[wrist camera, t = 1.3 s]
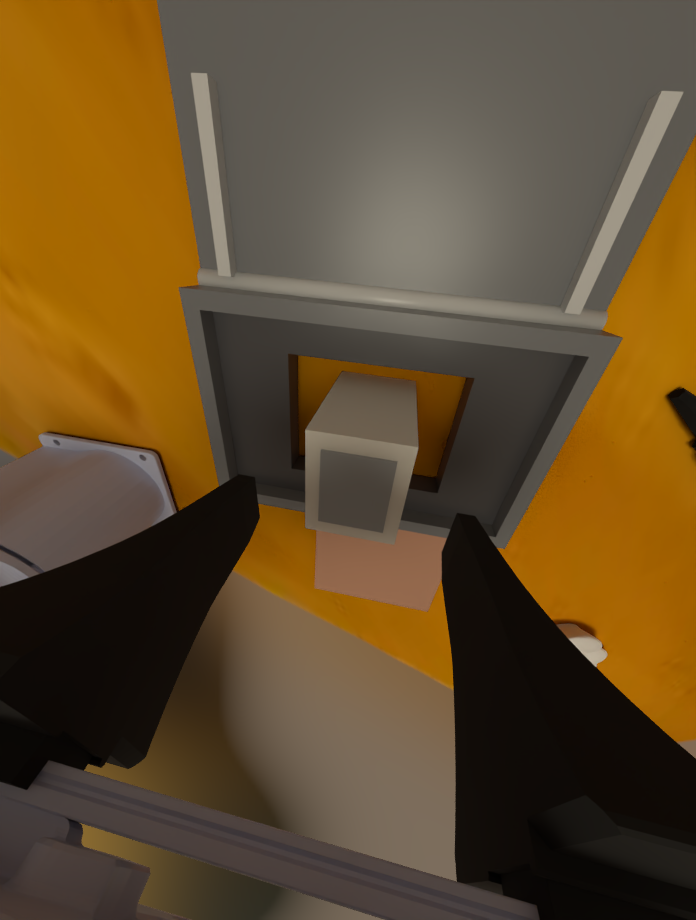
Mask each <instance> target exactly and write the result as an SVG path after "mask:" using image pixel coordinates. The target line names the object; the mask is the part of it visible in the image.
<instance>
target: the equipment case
mask: <svg viewBox="0 0 696 920" xmlns="http://www.w3.org/2000/svg"><path fill="white" fill-rule="evenodd" d="M157 3H158V9H159V16H160V22H161V28H162V34H163V40H164V46H165V52H166V58H167V65H168V71H169V77H170V83H171V89H172V95H173V101H174V107H175V114H176V120H177V126H178V132H179V138H180V144H181V150H182V156H183V162H184V169H185V175H186V181H187V187H188V193H189V199H190V205H191V211H192V218H193V224H194V230H195V236H196V242H197V248H198V254H199V260H200V267H201V268H200V269H199V271H198V283H199V285H196V286H187V287H179V291H180V296H181V301H182V306H183V311H184V316H185V321H186V326H187V330H188V335H189V340H190V345H191V350H192V355H193V360H194V365H195V370H196V374H197V379H198V384H199V389H200V394H201V399H202V404H203V409H204V414H205V419H206V423H207V428H208V433H209V438H210V443H211V448H212V453H213V458H214V463H215V468H216V472H217V477H218V482H219V486H221V485H222V484H224V483H225V482H227V481H229V480H230V479H232V478H234V477H235V476H237V475H239V474H241V475H247V476H252V477H255V481H256V490H257V498H258V504H264V505H269V506H275V507H280V508H286V509H291V510H296V511H302V512H305V457H303V456H299V428H298V355H302V356H310V357H317V358H325V359H333V360H340V361H348V362H355V363H363V364H370V365H378V366H386V367H393V368H401V369H408V370H416V371H424V372H431V373H439V374H446V375H454V376H461V377H467V379H466V382H465V385H464V389H463V392H462V395H461V398H460V402H459V405H458V408H457V411H456V415H455V418H454V421H453V424H452V428H451V431H450V434H449V437H448V441H447V444H446V447H445V450H444V454H443V457H442V460H441V463H440V467H439V470H438V473H437V477H436V478H430V477H424V476H418V475H412V476H411V480H410V484H409V488H408V492H407V496H406V500H405V504H404V508H403V512H402V516H401V520H400V524H399V528H398V529H400V530H405V531H410V532H416V533H421V534H427V535H432V536H438V537H443V538H447V537H448V534H449V532H450V529H451V527H452V524H453V521H454V519H455V516H456V514H457V513H461V514H467V515H472V516H476V518H477V519H478V521H479V522H480V524H481V525H482V527H483V528H484V530H485V531H486V533H487V534H488V536H489V537H490V539H491V540H492V542H493V543H494V545H495V546H496V547H497V548H503V549H505V547H506V546H507V544H508V542H509V540H510V538H511V537H512V535H513V533H514V531H515V530H516V528H517V526H518V524H519V522H520V521H521V519H522V517H523V515H524V513H525V512H526V510H527V508H528V506H529V505H530V503H531V501H532V499H533V497H534V496H535V494H536V492H537V490H538V488H539V487H540V485H541V483H542V481H543V480H544V478H545V476H546V474H547V472H548V471H549V469H550V467H551V465H552V464H553V462H554V460H555V458H556V456H557V455H558V453H559V451H560V449H561V447H562V446H563V444H564V442H565V440H566V439H567V437H568V435H569V433H570V431H571V430H572V428H573V426H574V424H575V422H576V421H577V419H578V417H579V415H580V414H581V412H582V410H583V408H584V406H585V405H586V403H587V401H588V399H589V397H590V396H591V394H592V392H593V390H594V389H595V387H596V385H597V383H598V381H599V380H600V378H601V376H602V374H603V373H604V371H605V369H606V367H607V365H608V364H609V362H610V360H611V358H612V356H613V355H614V353H615V351H616V349H617V348H618V346H619V344H620V342H621V340H622V339H623V338H622V337H619V336H616V335H613V334H611V333H608V332H605V331H602V329H603V327H604V326H605V324H606V321H607V317H608V314H607V311H606V310H607V308H608V306H609V304H610V302H611V300H612V298H613V296H614V294H615V292H616V291H617V289H618V287H619V285H620V283H621V281H622V279H623V277H624V275H625V273H626V271H627V269H628V267H629V265H630V263H631V261H632V259H633V257H634V255H635V253H636V251H637V249H638V247H639V245H640V243H641V241H642V239H643V237H644V235H645V233H646V231H647V229H648V227H649V225H650V223H651V221H652V219H653V218H654V216H655V214H656V212H657V210H658V208H659V206H660V204H661V202H662V200H663V198H664V196H665V194H666V192H667V190H668V188H669V186H670V184H671V182H672V180H673V178H674V176H675V174H676V172H677V170H678V168H679V166H680V164H681V162H682V160H683V158H684V156H685V154H686V152H687V150H688V148H689V147H690V145H691V143H692V141H693V139H694V137H695V135H696V0H157Z"/></svg>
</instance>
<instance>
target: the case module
mask: <svg viewBox="0 0 696 920" xmlns="http://www.w3.org/2000/svg"><path fill="white" fill-rule="evenodd" d="M417 452H418V423H417V399H416V381H412V380H405V379H397V378H390V377H383V376H375V375H368V374H360V373H353V372H346V371H342V372H341V374H340V375H339V377H338V378H337V380H336V382H335V383H334V385H333V386H332V388H331V390H330V391H329V393H328V394H327V396H326V398H325V399H324V401H323V402H322V404H321V406H320V407H319V409H318V410H317V412H316V413H315V415H314V417H313V418H312V420H311V421H310V423H309V425H308V426H307V428H306V429H305V528H307V529H313V530H318V531H323V532H328V533H334V534H339V535H344V536H350V537H355V538H360V539H365V540H371V541H376V542H381V543H386V544H392V545H394V544H395V540H396V536H397V532H398V528H399V524H400V520H401V516H402V512H403V508H404V504H405V500H406V496H407V492H408V488H409V484H410V480H411V476H412V472H413V468H414V464H415V460H416V456H417Z"/></svg>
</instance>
